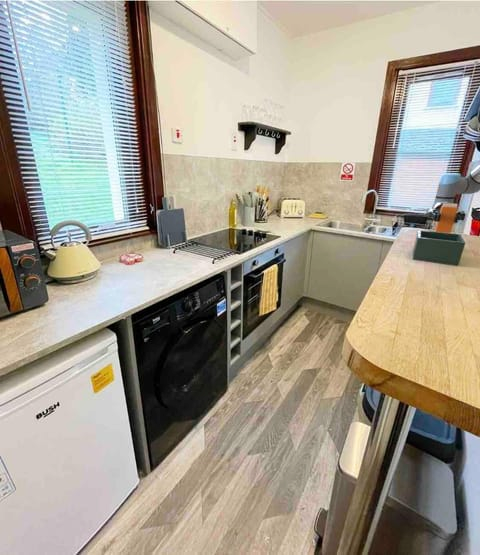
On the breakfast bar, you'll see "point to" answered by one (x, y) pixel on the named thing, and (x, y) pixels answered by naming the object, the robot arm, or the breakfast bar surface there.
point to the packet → (446, 218)
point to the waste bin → (438, 247)
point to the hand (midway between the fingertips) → (447, 218)
